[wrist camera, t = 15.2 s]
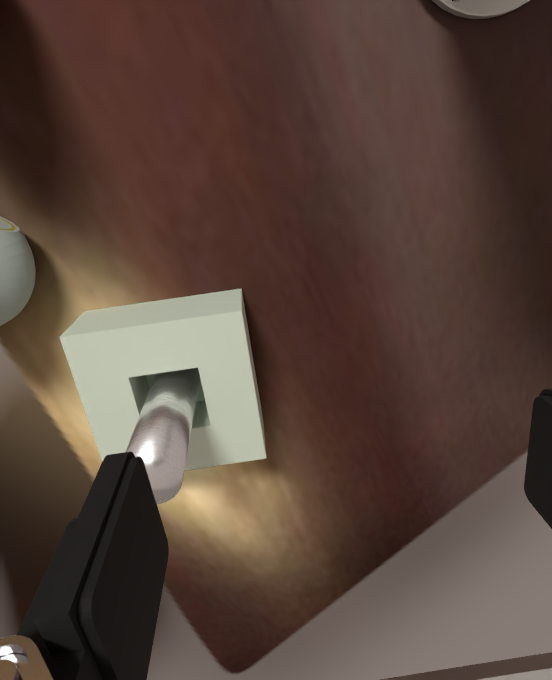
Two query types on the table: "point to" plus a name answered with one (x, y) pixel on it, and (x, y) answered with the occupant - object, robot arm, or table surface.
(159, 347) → the socket block
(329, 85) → the table surface
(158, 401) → the steel peg
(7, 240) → the air freshener
